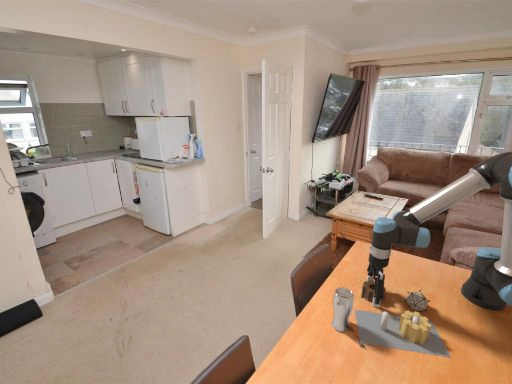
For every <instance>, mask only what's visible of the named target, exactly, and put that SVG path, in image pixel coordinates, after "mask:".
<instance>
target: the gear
mask: <svg viewBox="0 0 512 384" xmlns="http://www.w3.org/2000/svg"><path fill="white" fill-rule="evenodd" d="M400 316H401V320H400V325H399V330H401V332H400V334H401V335H402V336H403V337H407V338H408V339H409V341H410V342H412V343H414V342H419V343H420V344H425V340H428V336H429V333H430V329H431V324H429V323H428V321H429V320H430V319H428V317H426V316H422V315H421V314H420V312H418V311H416V310H414V312H413V311H410V310H404V312H403V313H401V315H400ZM413 316H418V317H419V318H420V320H419V324H418V325H417V324H415V323H412V320H413Z"/></svg>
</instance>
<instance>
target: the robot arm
mask: <svg viewBox="0 0 512 384" xmlns="http://www.w3.org/2000/svg"><path fill="white" fill-rule="evenodd" d="M497 185H499V198H501V199H502V200H503V201H504V206H503V209H504V210H503V218H502V219H503V220H502V222H503V223H502V232H501V233H502V235H501V243H500V248H497V247H491V246H490V247H489V246H484V247H481V248H479V249H478V251H477V253H476V256H475V260H474V263H473V266H472V270H471V274H470V276H469V277H468V278H467V279H466V281H465V282H463V283H462V286H461V289H460V292H461V295H463V297H464V298H465V299H467V300H468V301H469V302H471V303H472V304H474V305H476V306H478V307H481V308H483V309H487V310H491V311H502V310H505V309H506V308H507V305H509V306H510V307H512V151H504V152H501V153H496V154H495V155H493V156H490V157H488V158H486V159H484V160H483V161H480V162H479V163H477V164H476V165H473V166H472V167H471V168H469V171H468V173H466V174H464V175H463V176H460V177H459V178H458V179H456V180H454V181H453V182H451V183H449V184H448V185H446V186H445V187H443V188H442V189H439V190H438V191H436V192H434V193H433V194H431V195H429V196H428V197H426V198H424V199H423V200H421V201H419V202H418V203H416V204H415V205H414V206H413V205H412V206H411V207H409V208H408V209H406V210H398V211H396V212H394V213H393V214H392V217H391V218H389V217H385V216H383V217H377V218H376V219H375V221H374V223H373V224H374V225H373V228H372V235H371V243H370V245H369V247H368V248H369V255H368V267H367V269H366V271H367V278H366V281H367V282H370V280H372V281H374V282H375V295H373V302H372V301H371V302H372V304H371V307H373V308H380V306H381V300H383V299H384V300H385V298H384V287H385V277H386V274H384V269H385V268H387V267H389V263H390V257H391V253H392V249H393V248H392V247H393V245H397V246H403V247H405V246H406V247H411V248H413V247H414V248H425V249H426V248H427V247H429V245H430V243H431V233H430V230H429V229H428V228H426V227H421V226H420V225H422V224H423V223H425V222H426V221H428V220H430V219H432V218H434V217H435V216H437V215H439V214H441V213H443V212H445V211H446V210H448V209H449V208H452V207H453V206H455V205H457V204H459V203H460V202H462V201H464V200H465V199H467V198H469V197H472V196H473V195H475V194H476V193H478V192H480V191H482V190H484V189H491V188H493V187H495V186H497ZM418 226H420V227H418Z"/></svg>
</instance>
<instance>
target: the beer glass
mask: <svg viewBox="0 0 512 384" xmlns="http://www.w3.org/2000/svg"><path fill="white" fill-rule="evenodd" d="M354 296H355V295H354V292H353V291H352V290H351V289H349V288H347V287H341V286H340V287H337V288H336V289H334V294H333V301H332V309H333V318H332V321H331V325H332V328H333V329H334V330H336V331H337V332H339V333H345V332H347V331H349V328H350V326H349V319H350V318H351V315H352V312H353V309H354V308H353V307H354V300H355V299H354Z"/></svg>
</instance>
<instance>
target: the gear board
mask: <svg viewBox="0 0 512 384" xmlns="http://www.w3.org/2000/svg"><path fill="white" fill-rule="evenodd" d="M354 315H355V320H356V326H357V330H358V335H359V336H358V342H359V347H362V348H366V346H365V345H370V346H376V347H382V348H388V349H394V350H395V349H396V350H401V351H407V352H412V353H413V352H414V353H419V354H420V353H421V354H427V355H433V356H437V357H438V356H439V357H444V358H452V355H451V354H450V352H449V351H448V349H447V347H446V345H445V343H444V341H443V339H442V337H441V336H440V334H439V332H438V330H437V328H436V327H435V325H434V323H433V321H432V319H428V320H429V321H428V323H429V324H431V329H430V333H429V336H428V340H425V344H420V343H419V342H414V343H412V342H410V341H409V339H408V338H407V337H403V336H402V335H401V334H400V332H401V330H399V325H400V320H401V315H396V314H391V313H389V312H387V311H382V313H380V312H373V311H368V310H361V309H354ZM419 320H420V318H419V317H418V316H413V320H412V323H415V324H417V325H418V324H419Z"/></svg>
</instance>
